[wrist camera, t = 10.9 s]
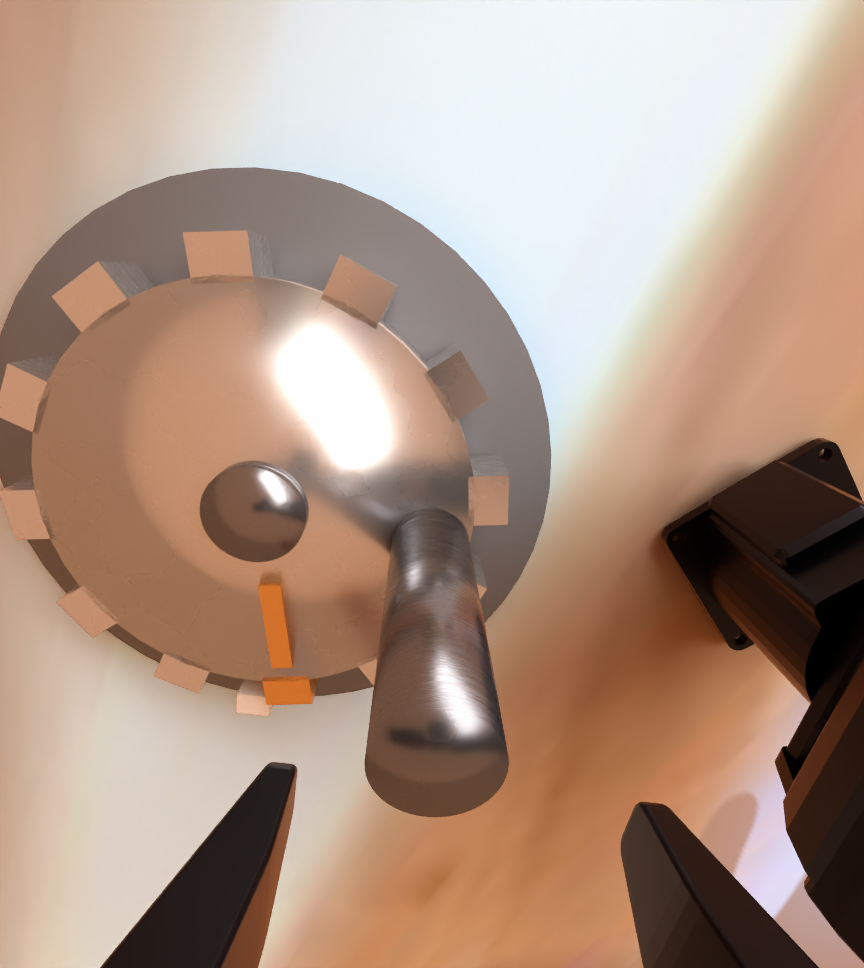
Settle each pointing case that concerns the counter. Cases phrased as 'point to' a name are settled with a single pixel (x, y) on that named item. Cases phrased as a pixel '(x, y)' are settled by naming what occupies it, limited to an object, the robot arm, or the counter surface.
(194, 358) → the sprocket
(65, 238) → the stand
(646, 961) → the robot arm
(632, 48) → the counter surface
